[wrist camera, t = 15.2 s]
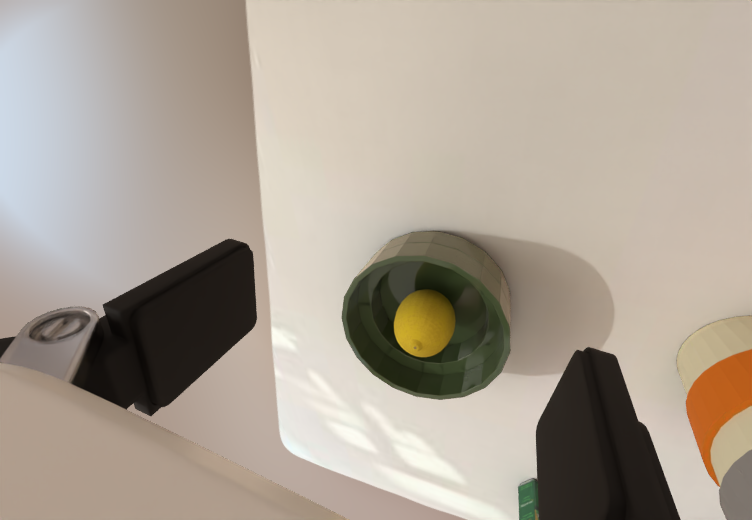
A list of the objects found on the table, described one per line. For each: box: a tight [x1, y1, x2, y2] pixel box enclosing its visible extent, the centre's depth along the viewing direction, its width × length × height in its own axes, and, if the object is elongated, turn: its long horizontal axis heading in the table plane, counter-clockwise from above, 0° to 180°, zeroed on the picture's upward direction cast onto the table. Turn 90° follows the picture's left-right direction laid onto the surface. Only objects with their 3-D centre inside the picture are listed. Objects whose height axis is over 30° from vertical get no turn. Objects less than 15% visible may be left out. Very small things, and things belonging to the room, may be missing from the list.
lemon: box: [394, 289, 456, 357], centre depth 33 cm, size 6×6×8 cm
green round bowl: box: [342, 231, 511, 400], centre depth 34 cm, size 15×15×6 cm
